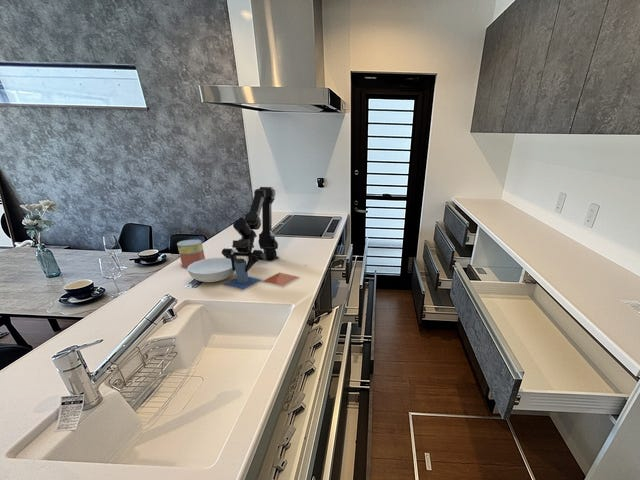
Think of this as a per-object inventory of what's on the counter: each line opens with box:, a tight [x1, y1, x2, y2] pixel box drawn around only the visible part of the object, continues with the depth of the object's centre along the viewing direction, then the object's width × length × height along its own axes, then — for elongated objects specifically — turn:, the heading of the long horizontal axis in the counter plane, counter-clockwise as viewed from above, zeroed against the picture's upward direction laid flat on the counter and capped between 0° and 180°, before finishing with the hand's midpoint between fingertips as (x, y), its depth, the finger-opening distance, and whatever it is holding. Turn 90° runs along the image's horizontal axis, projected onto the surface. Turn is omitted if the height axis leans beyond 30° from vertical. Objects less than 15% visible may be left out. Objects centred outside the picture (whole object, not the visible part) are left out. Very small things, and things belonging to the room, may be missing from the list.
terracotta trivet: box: [263, 272, 299, 287], centre depth 146 cm, size 12×12×1 cm
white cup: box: [229, 244, 248, 264], centre depth 162 cm, size 8×8×10 cm
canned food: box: [176, 238, 206, 269], centre depth 159 cm, size 11×11×12 cm
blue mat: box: [222, 276, 262, 290], centre depth 141 cm, size 12×12×1 cm
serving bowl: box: [186, 257, 236, 283], centre depth 144 cm, size 21×21×7 cm
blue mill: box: [234, 259, 249, 284], centre depth 139 cm, size 5×5×11 cm
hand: (239, 271), depth 137 cm, fingers open, 6 cm apart
